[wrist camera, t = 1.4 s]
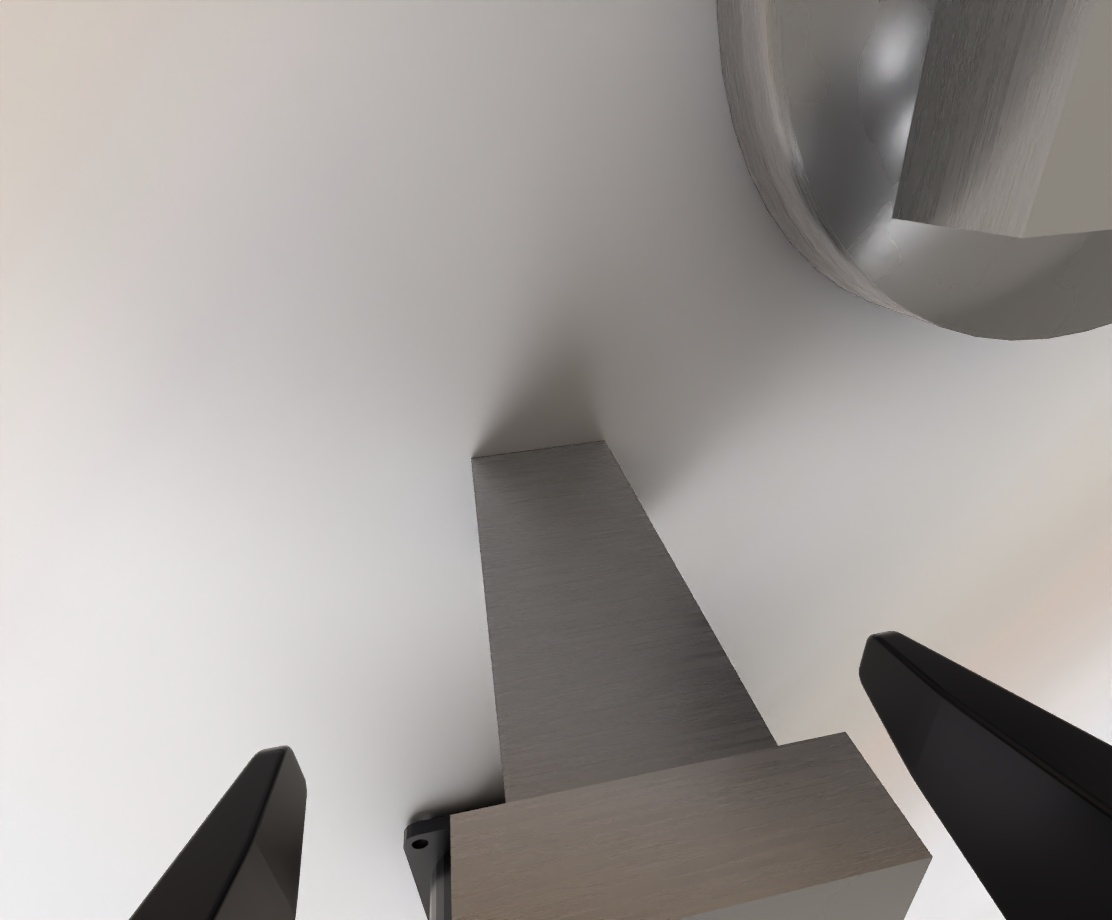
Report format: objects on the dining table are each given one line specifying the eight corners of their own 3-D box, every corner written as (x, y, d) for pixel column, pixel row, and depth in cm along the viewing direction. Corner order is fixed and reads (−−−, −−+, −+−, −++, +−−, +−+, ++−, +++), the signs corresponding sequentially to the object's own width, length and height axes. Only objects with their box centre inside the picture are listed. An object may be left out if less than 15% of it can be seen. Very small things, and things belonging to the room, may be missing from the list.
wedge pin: (626, 560, 15) (846, 1044, 7) (469, 585, 14) (506, 1140, 6) (625, 417, 13) (931, 856, 5) (444, 441, 12) (451, 976, 4)
